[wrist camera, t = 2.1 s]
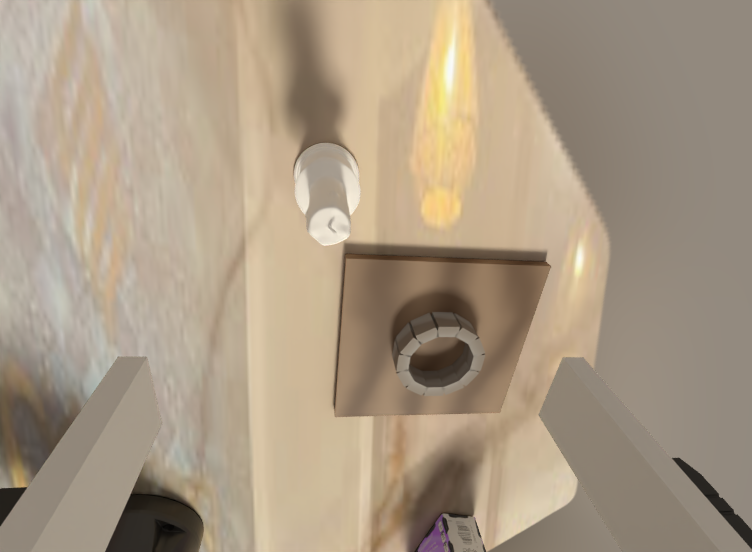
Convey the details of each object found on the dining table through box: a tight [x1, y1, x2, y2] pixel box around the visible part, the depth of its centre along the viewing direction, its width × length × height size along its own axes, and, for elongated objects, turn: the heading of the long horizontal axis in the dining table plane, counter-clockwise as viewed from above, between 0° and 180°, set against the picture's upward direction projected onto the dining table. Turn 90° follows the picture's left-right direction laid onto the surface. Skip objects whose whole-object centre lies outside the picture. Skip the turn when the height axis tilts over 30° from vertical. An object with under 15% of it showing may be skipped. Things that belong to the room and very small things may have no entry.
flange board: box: [335, 254, 551, 417], centre depth 40 cm, size 20×20×4 cm
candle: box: [294, 143, 360, 246], centre depth 27 cm, size 5×5×12 cm
